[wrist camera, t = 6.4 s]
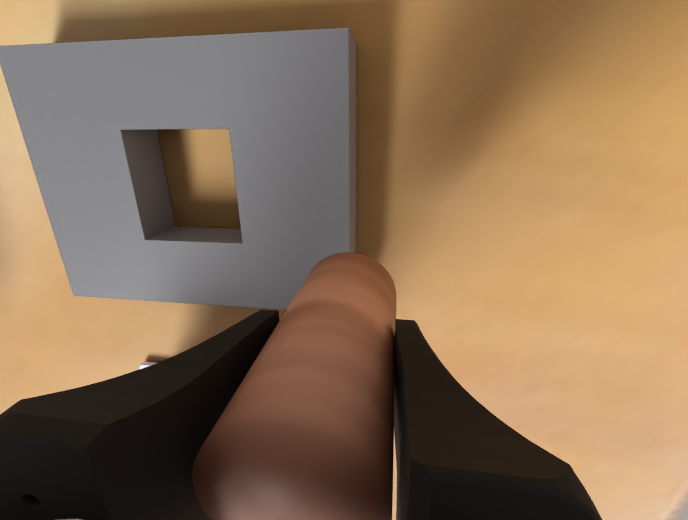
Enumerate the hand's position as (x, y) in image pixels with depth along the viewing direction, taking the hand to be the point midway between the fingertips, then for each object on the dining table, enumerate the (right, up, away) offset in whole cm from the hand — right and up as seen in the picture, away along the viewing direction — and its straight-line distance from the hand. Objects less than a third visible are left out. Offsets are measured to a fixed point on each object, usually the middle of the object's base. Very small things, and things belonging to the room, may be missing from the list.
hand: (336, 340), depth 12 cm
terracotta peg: (0, +1, +3) cm, 3 cm away
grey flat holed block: (-8, +8, +10) cm, 15 cm away
